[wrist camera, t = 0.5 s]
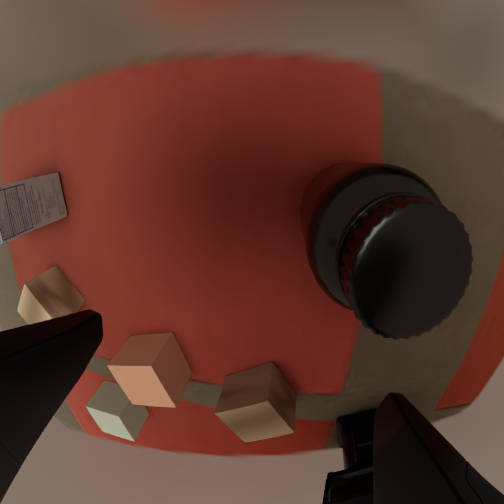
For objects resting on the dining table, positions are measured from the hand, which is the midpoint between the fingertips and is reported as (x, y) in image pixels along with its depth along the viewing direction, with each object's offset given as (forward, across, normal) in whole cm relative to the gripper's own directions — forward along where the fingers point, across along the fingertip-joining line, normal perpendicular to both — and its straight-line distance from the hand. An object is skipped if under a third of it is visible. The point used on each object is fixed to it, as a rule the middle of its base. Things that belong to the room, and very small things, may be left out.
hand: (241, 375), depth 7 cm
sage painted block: (+14, +12, +25) cm, 31 cm away
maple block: (+14, +20, +12) cm, 27 cm away
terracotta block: (+14, +8, +14) cm, 21 cm away
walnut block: (+14, -3, +14) cm, 20 cm away
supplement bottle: (+14, -4, -4) cm, 15 cm away
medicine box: (+14, +23, +2) cm, 27 cm away
